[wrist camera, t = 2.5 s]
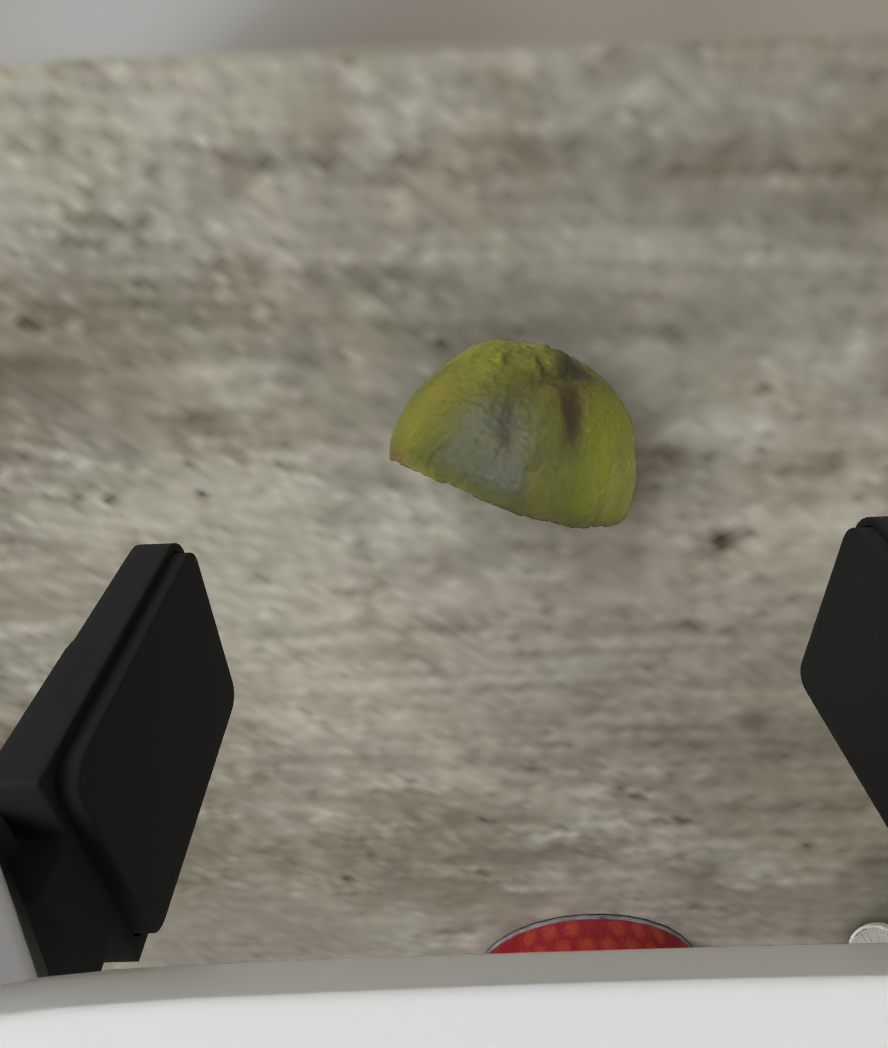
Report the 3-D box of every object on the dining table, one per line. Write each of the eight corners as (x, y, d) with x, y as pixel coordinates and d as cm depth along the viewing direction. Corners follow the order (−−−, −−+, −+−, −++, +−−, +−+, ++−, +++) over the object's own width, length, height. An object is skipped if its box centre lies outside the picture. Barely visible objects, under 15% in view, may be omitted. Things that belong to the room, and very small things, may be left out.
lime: (624, 452, 17) (682, 578, 13) (437, 506, 18) (434, 641, 14) (585, 273, 15) (640, 356, 10) (372, 345, 15) (345, 449, 11)
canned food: (569, 811, 33) (711, 982, 23) (676, 922, 36) (837, 1110, 27) (392, 991, 31) (466, 1247, 22) (520, 1088, 35) (631, 1345, 25)
